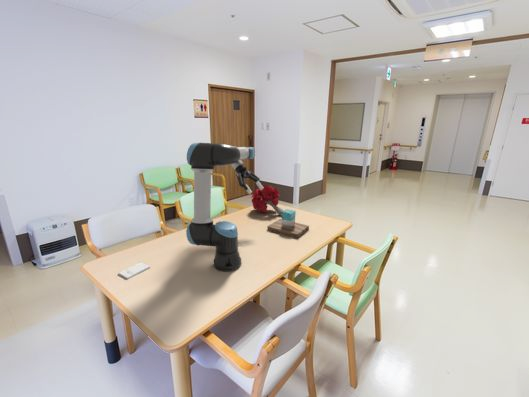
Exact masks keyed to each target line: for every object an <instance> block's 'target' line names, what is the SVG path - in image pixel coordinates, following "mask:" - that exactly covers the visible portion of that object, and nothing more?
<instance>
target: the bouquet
mask: <svg viewBox="0 0 529 397" xmlns="http://www.w3.org/2000/svg"><path fill="white" fill-rule="evenodd" d="M261 185H262V184H261ZM262 186H263V187H264V188H263V189H262V190H260V188H259V187H258V188H256V189H255V190H254V191H253V192H252V195H251V203H252V208H253V209H254V210H256V211H257V212H261V213H264V214H267V213H268V205H269V206H271V207H272V208H273V209H274V211H275V212H276V214H277V215H279V216H282V212H283V211H284V209H282V208H281V207H278V205H279V198H281V195H280V192H279V191H278V190H277V189H276V188H275V187H273V186H271V185H266V184H263V185H262Z"/></svg>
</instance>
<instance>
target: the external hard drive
mask: <svg viewBox="0 0 529 397" xmlns="http://www.w3.org/2000/svg"><path fill="white" fill-rule="evenodd" d="M150 268H151V267H150V265H148V264H146V263H144V262H142V261H140V262H138V263H135V264H134V265H132V266H130V267H128V268H125V269H124V270H122V271H121V270H120V271H119V272H118V273H117V274H118V276H120V277H123V278H124V279H126V280H129V279H131V278H133V277H135V276H137V275H139V274H142V273H143V272H145V271H147V270H149V269H150Z"/></svg>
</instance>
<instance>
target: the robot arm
mask: <svg viewBox="0 0 529 397" xmlns="http://www.w3.org/2000/svg"><path fill="white" fill-rule="evenodd" d="M255 149H256V148H254V147H252V146H236V145H235V146H234V145H231V144H226V143H225V144H224V143H213V142H211V143H210V142H194V143H192V144H190V145H189V146H188V148H187V151H186V161H187V164H188V165H189V166H190V167H191V168H190V169H191V170H192V172H193V218H192V219H191V220H190V222H189V223H188V224H187V226H186V230H185V232H186V233H185V236H186V238H187V241H188V243H189V244H191V245H195V246H202V247H204V246H205V247H214V248H215V255H214V258H213V264H212V266H213V268H214V269H216V270H218V271H219V272H220V271H221V272H232V271H235V270H237V269H238V268H240V267H242V258H241V256H240V252H239V248H238V247H239V246H238V243H239V242H238V241H239V240H238V237H239V236H238V235H239V233H238V227H237V226H236V224H235V223H233V222H231V221H227V220H226V221H225V220H223V221H216V223H215V224H214V220H213V218H212V217H211V208H212V207H211V203H212V202H211V199H212V198H211V197H212V196H211V193H212V187H211V186H212V172H214V170H215V167H225V166H229V165H230V166H231V167H232V169H233V170H234V171H235V172H236V175H235V176H236V177H237V181H238V184H239V187H241V188H243V189H244V190H245V191H246V193H247V194H248V195H250V196H251V194H253V191H252V190H251V188H250V187H249V185H248V184H247V183H246V179H250V180H252V181H253V182H255V184H256V186H257V187H258V188H260V190H262V189H263V188H264V187H263V186H262V183H261V182H260V179H261V178H260V177H258V176H257V175H256V174H255V173H254V172H252V170H250V169H249V170H247V166H246V165H245V164H244V162H243V161H242V160H246V159H247V160H248V159H249V160H253V159H254V158H255V156H256V150H255Z"/></svg>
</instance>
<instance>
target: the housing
mask: <svg viewBox="0 0 529 397" xmlns="http://www.w3.org/2000/svg"><path fill="white" fill-rule="evenodd" d="M281 219H282V227H286V228H290V229H291V228H292V227H293V226H295V222H296V210H292V209H288V208H287V209H285V210H283V212H282V214H281Z"/></svg>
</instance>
